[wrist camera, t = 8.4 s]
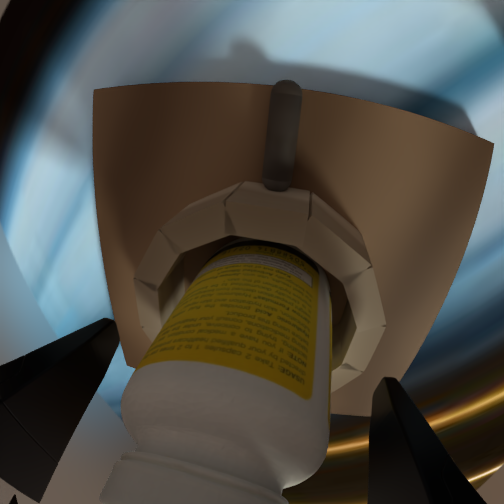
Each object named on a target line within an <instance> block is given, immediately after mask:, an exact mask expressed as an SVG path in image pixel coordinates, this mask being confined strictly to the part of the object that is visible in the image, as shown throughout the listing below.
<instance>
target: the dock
mask: <svg viewBox="0 0 504 504" xmlns="http://www.w3.org/2000/svg"><path fill="white" fill-rule="evenodd" d="M493 148H494V143H492V142H490V141H487V140H485V139H483V138H480V137H478V136H476V135H473V134H471V133H468V132H466V131H463V130H461V129H458V128H456V127H453V126H450V125H448V124H445V123H442V122H439V121H436V120H433V119H430V118H427V117H424V116H421V115H418V114H415V113H411V112H408V111H404V110H401V109H397V108H394V107H390V106H386V105H382V104H378V103H374V102H370V101H366V100H361V99H356V98H352V97H347V96H342V95H336V94H331V93H325V92H319V91H313V90H306V89H301V88H300V86H299V85H298V84H297V83H295V82H294V81H291V80H282V81H279V82H277V83H276V84H275V85H274V86H273V85H262V84H248V83H229V82H169V83H151V84H138V85H127V86H118V87H109V88H102V89H95V90H94V94H93V169H94V186H95V199H96V210H97V219H98V228H99V236H100V243H101V250H102V257H103V263H104V269H105V274H106V280H107V285H108V290H109V295H110V300H111V305H112V309H113V314H114V318H115V322H116V324H117V328H118V332H119V336H120V342H121V346H122V350H123V353H124V357H125V360H126V364H127V366H130V367H133V368H137V366H138V365H139V363H140V362H141V360H142V358H143V357H144V355H145V354H146V352H147V350H148V349H149V347H150V346H151V344H152V343H153V341H154V340H155V338H156V336H157V335H158V333H159V332H160V330H161V329H162V327H163V326H164V324H165V323H166V321H167V320H168V318H169V317H170V315H171V314H172V312H173V311H174V309H175V307H176V306H177V305H178V303H179V302H180V300H181V299H182V297H183V296H184V294H185V293H186V291H187V289H188V288H189V287H190V285H191V284H192V282H193V281H194V279H195V278H196V276H197V275H198V273H199V272H200V270H201V269H202V267H203V266H204V264H205V263H206V262H207V261H208V260H209V259H210V257H211V256H212V255H213V254H214V253H215V252H216V251H217V250H219V249H220V248H221V247H223V246H224V245H226V244H228V243H230V242H232V241H234V240H236V239H240V238H243V237H247V238H253V239H259V240H265V241H271V242H277V243H283V244H288V245H294V246H296V247H298V248H299V249H300V250H301V251H303V252H304V253H305V254H307V255H308V256H309V257H311V258H312V259H313V260H314V261H316V262H317V263H318V264H319V265H320V266H321V267H322V269H323V270H324V272H325V274H326V276H327V279H328V282H329V285H330V290H331V301H332V380H331V408H330V413H334V414H344V415H357V416H371V409H372V397H373V393H374V391H375V389H376V387H377V386H378V384H379V383H380V381H381V379H382V378H383V377H385V376H386V377H395V378H396V379H397V380H398V381H399V382H400V380H401V378H402V377H403V375H404V374H405V372H406V371H407V369H408V367H409V366H410V364H411V362H412V361H413V359H414V357H415V356H416V354H417V352H418V350H419V349H420V347H421V345H422V343H423V342H424V340H425V338H426V336H427V334H428V332H429V331H430V329H431V327H432V325H433V323H434V321H435V319H436V317H437V315H438V313H439V311H440V309H441V307H442V305H443V303H444V300H445V298H446V296H447V294H448V292H449V290H450V287H451V285H452V283H453V280H454V278H455V276H456V273H457V271H458V268H459V266H460V263H461V261H462V258H463V256H464V253H465V250H466V247H467V245H468V242H469V239H470V236H471V233H472V230H473V227H474V224H475V221H476V218H477V214H478V211H479V208H480V204H481V201H482V197H483V193H484V189H485V185H486V181H487V177H488V173H489V168H490V163H491V159H492V153H493Z"/></svg>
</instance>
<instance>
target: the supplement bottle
mask: <svg viewBox="0 0 504 504" xmlns="http://www.w3.org/2000/svg"><path fill="white" fill-rule="evenodd" d="M331 380H332V301H331V290H330V285H329V282H328V279H327V276H326V274H325V272H324V270H323V269H322V267H321V266H320V265H319V264H318V263H317V262H316V261H314V260H313V259H312V258H311V257H309V256H308V255H307V254H305V253H304V252H303V251H301V250H300V249H299V248H298V247H296V246H294V245H288V244H283V243H277V242H271V241H265V240H259V239H253V238H247V237H243V238H240V239H236V240H234V241H232V242H230V243H228V244H226V245H224V246H223V247H221V248H220V249H219V250H217V251H216V252H215V253H214V254H213V255H212V256H211V257H210V259H209V260H208V261H207V262H206V263H205V264H204V266H203V267H202V269H201V270H200V272H199V273H198V275H197V276H196V278H195V279H194V281H193V282H192V284H191V285H190V287H189V288H188V289H187V291H186V293H185V294H184V296H183V297H182V299H181V300H180V302H179V303H178V305H177V306H176V307H175V309H174V311H173V312H172V314H171V315H170V317H169V318H168V320H167V321H166V323H165V324H164V326H163V327H162V329H161V330H160V332H159V333H158V335H157V336H156V338H155V340H154V341H153V343H152V344H151V346H150V347H149V349H148V350H147V352H146V354H145V355H144V357H143V358H142V360H141V362H140V363H139V365H138V366H137V368H136V370H135V371H134V373H133V374H132V376H131V378H130V380H129V382H128V384H127V386H126V388H125V390H124V392H123V395H122V399H121V414H122V419H123V422H124V425H125V427H126V429H127V431H128V432H129V434H130V436H131V437H132V438H133V440H134V441H135V442H136V443H137V444H138V446H137V448H136V450H135V451H129V452H126V453H124V454H122V456H121V461H117V462H116V463H115V465H114V467H113V470H112V472H111V474H110V476H109V478H108V481H107V482H106V485H105V486H104V488H103V490H102V492H101V494H100V501H101V502H102V503H103V504H289V503H288V501H287V500H286V499H285V498H284V497H282V496H281V494H282V489H283V488H287V487H291V486H294V485H296V484H299V483H301V482H303V481H304V480H306V479H308V478H309V477H310V476H312V475H313V474H314V473H315V472H316V471H317V470H318V468H319V467H320V466H321V464H322V462H323V461H324V459H325V456H326V453H327V448H328V439H329V430H330V408H331Z"/></svg>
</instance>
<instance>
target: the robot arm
mask: <svg viewBox="0 0 504 504" xmlns="http://www.w3.org/2000/svg"><path fill="white" fill-rule="evenodd" d="M119 342H120V336H119V332H118V328H117V324H116V322H115V321H114V320H112V319H109V318H103V319H100V320H98V321H96V322H94V323H92V324H90V325H88V326H85V327H83V328H81V329H79V330H77V331H75V332H73V333H70V334H68V335H66V336H64V337H62V338H60V339H58V340H56V341H54V342H51V343H49V344H47V345H45V346H43V347H41V348H38V349H36V350H34V351H32V352H30V353H28V354H26V355H25V356H21V357H19V358H17V359H15V360H13V361H10V362H8V363H6V364H3V365H1V366H0V504H18V503H17V499H16V495H15V492H16V490H18V491H20V492H21V493H23V494H24V495H26V496H28V497H29V498H31V499H33V500H34V501H36V502H38V503H40V501H41V499H42V497H43V494H44V492H45V490H46V488H47V486H48V484H49V482H50V480H51V477H52V475H53V473H54V471H55V469H56V467H57V465H58V462H59V461H60V458H61V456H62V455H63V453H64V451H65V448H66V446H67V445H68V443H69V441H70V439H71V437H72V435H73V433H74V431H75V429H76V427H77V425H78V424H79V421H80V420H81V418H82V416H83V414H84V412H85V411H86V409H87V407H88V405H89V403H90V401H91V400H92V398H93V396H94V394H95V392H96V391H97V389H98V387H99V385H100V384H101V382H102V380H103V378H104V376H105V374H106V372H107V370H108V367H109V365H110V363H111V360H112V358H113V356H114V354H115V352H116V349H117V347H118V345H119ZM367 504H487V503H486V502H485V501H484V500H483V498H482V497H481V496H480V495H479V494H478V492H477V491H476V490H475V489H474V487H473V486H472V485H471V484H470V483H469V481H468V480H467V479H466V477H465V476H464V475H463V474H462V472H461V471H460V469H459V468H458V467H457V465H456V464H455V462H454V461H453V459H452V458H451V456H450V455H449V454H448V452H447V450H446V449H445V447H444V446H443V444H442V443H441V441H440V440H439V438H438V437H437V436H436V434H435V433H434V431H433V430H432V428H431V427H430V425H429V424H428V422H427V421H426V420H425V418H424V417H423V415H422V414H421V412H420V411H419V410H418V408H417V407H416V405H415V404H414V402H413V401H412V400H411V398H410V397H409V395H408V394H407V393H406V391H405V390H404V388H403V387H402V386H401V384H400V383H399V381H398V380H397V379H396V378H395V377H386V376H385V377H383V378H382V379H381V381H380V383H379V384H378V386H377V387H376V389H375V391H374V393H373V397H372V409H371V421H370V431H369V482H368V503H367Z"/></svg>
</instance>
